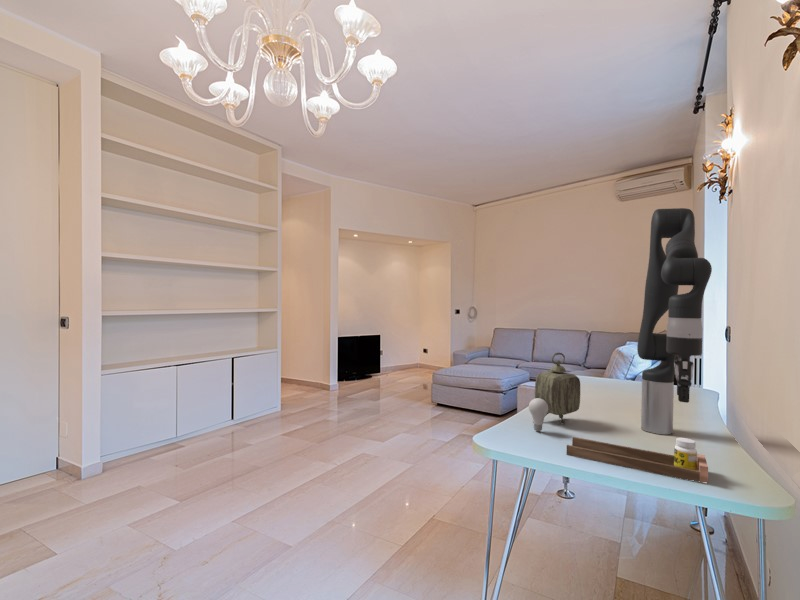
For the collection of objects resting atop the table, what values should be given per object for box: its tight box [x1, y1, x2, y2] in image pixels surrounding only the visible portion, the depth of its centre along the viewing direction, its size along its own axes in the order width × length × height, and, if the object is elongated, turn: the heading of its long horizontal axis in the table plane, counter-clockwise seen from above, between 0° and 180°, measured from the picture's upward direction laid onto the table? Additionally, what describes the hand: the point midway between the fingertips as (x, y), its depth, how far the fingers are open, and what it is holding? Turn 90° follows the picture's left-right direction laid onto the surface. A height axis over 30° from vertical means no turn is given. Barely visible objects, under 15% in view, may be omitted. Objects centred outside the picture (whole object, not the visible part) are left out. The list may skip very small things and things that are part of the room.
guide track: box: [566, 436, 709, 484], centre depth 109 cm, size 10×32×4 cm, turn 57°
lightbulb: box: [528, 397, 548, 433], centre depth 134 cm, size 6×6×11 cm
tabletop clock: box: [534, 352, 581, 425], centre depth 146 cm, size 14×9×25 cm, turn 121°
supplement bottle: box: [673, 437, 698, 470], centre depth 103 cm, size 5×5×8 cm
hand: (682, 398), depth 104 cm, fingers open, 8 cm apart
